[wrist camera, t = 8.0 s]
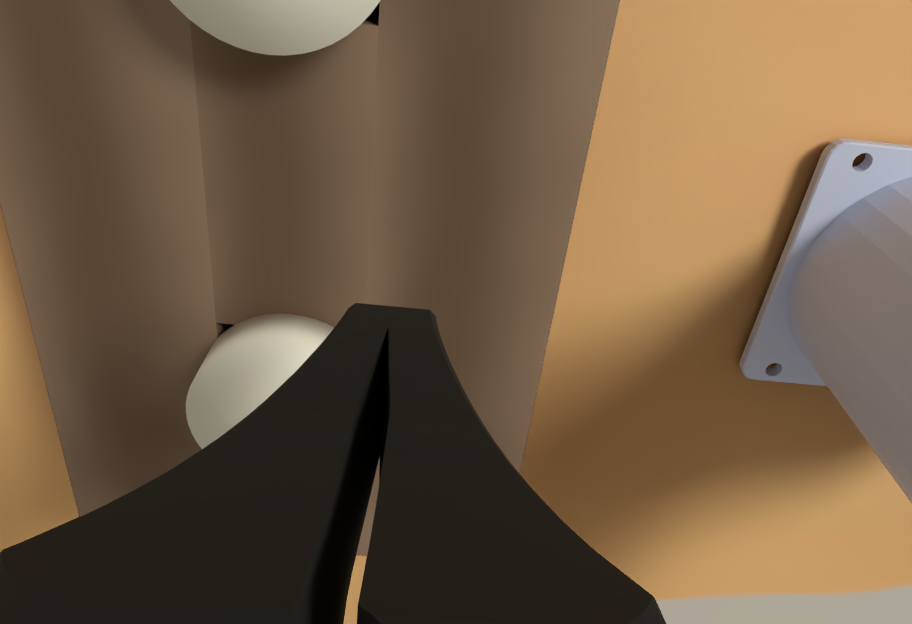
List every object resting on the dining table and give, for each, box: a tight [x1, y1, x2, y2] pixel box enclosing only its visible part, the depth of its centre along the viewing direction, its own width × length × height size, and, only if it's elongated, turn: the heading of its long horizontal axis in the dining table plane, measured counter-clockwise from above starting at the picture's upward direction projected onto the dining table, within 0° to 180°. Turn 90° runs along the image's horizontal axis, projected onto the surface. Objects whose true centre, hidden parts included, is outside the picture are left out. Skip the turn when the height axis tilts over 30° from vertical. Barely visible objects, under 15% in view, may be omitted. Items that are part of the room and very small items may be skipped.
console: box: [0, 0, 620, 556], centre depth 18 cm, size 14×26×3 cm, turn 174°
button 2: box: [186, 314, 334, 449], centre depth 21 cm, size 5×5×4 cm
